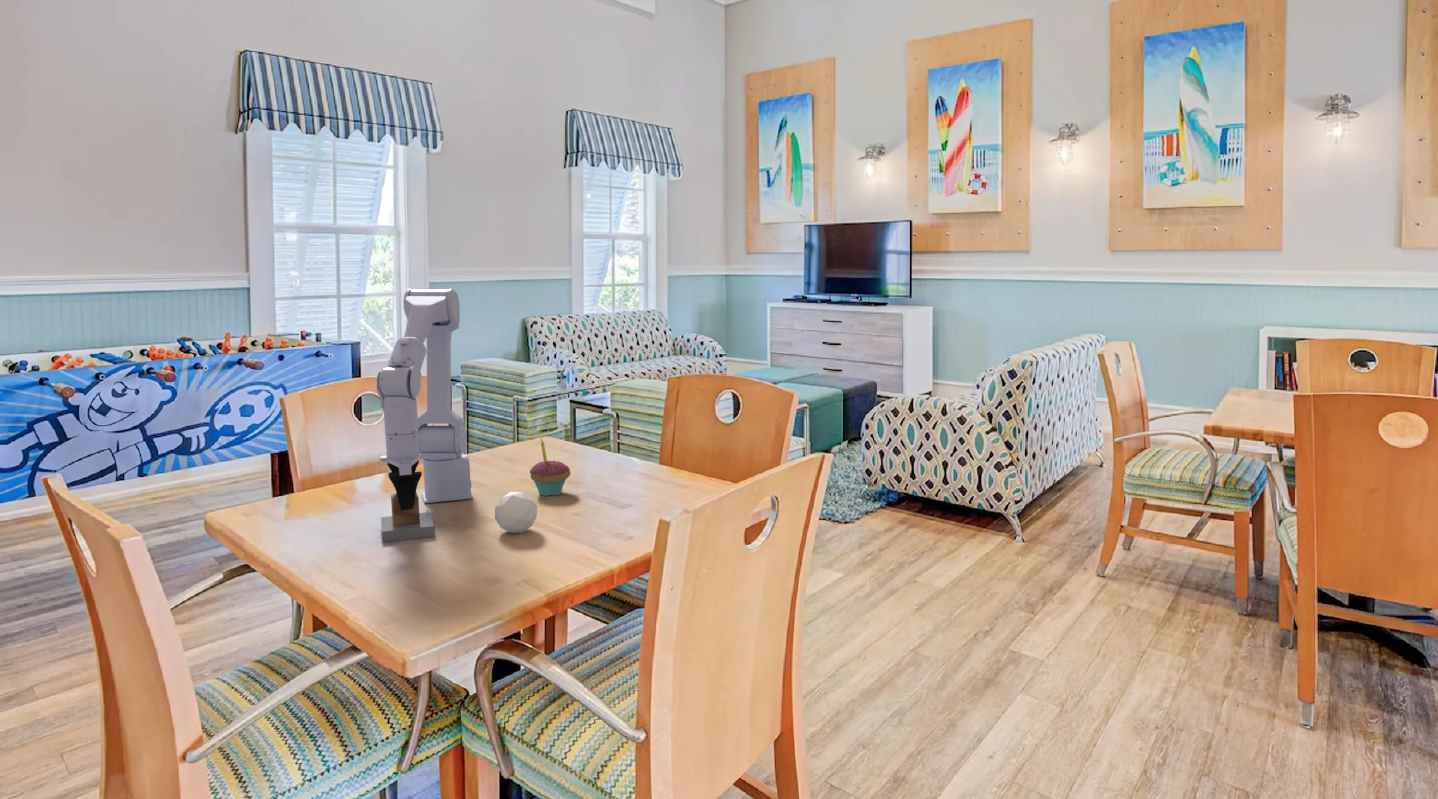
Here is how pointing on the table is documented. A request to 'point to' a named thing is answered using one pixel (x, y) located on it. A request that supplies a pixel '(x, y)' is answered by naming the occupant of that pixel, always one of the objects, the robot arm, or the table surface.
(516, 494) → the geometric ball
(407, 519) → the walnut block
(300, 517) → the table surface
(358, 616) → the table surface
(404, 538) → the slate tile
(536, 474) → the cupcake
